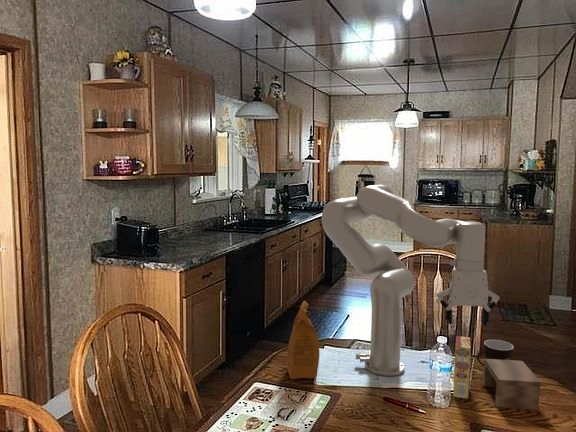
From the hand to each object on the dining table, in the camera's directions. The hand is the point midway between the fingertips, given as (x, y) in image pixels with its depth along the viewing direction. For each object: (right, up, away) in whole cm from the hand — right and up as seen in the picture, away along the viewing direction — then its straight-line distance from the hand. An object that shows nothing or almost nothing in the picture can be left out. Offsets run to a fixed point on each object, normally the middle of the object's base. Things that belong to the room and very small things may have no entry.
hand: (466, 323), depth 145 cm
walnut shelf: (+13, -21, +1) cm, 25 cm away
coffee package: (-47, -19, +14) cm, 52 cm away
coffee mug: (+13, -20, +15) cm, 28 cm away
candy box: (-1, -21, +3) cm, 21 cm away
